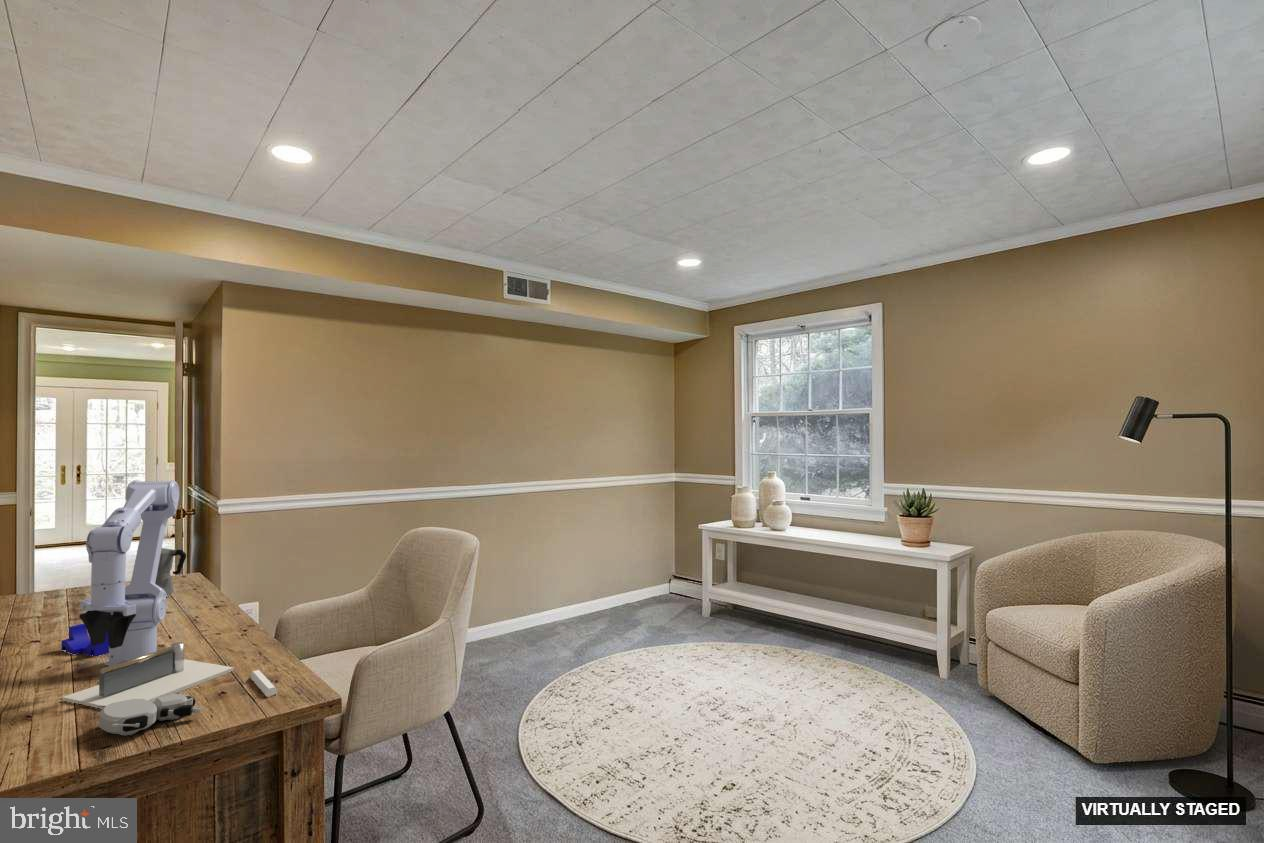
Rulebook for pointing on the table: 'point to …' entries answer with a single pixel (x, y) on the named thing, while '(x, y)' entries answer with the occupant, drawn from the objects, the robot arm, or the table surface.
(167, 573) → the coffeepot
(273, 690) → the marker
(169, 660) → the gate
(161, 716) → the robot toy
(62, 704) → the table surface
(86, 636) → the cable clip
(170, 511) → the robot arm
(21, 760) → the table surface
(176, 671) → the gate post
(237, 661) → the table surface
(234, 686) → the table surface
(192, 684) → the gate board
